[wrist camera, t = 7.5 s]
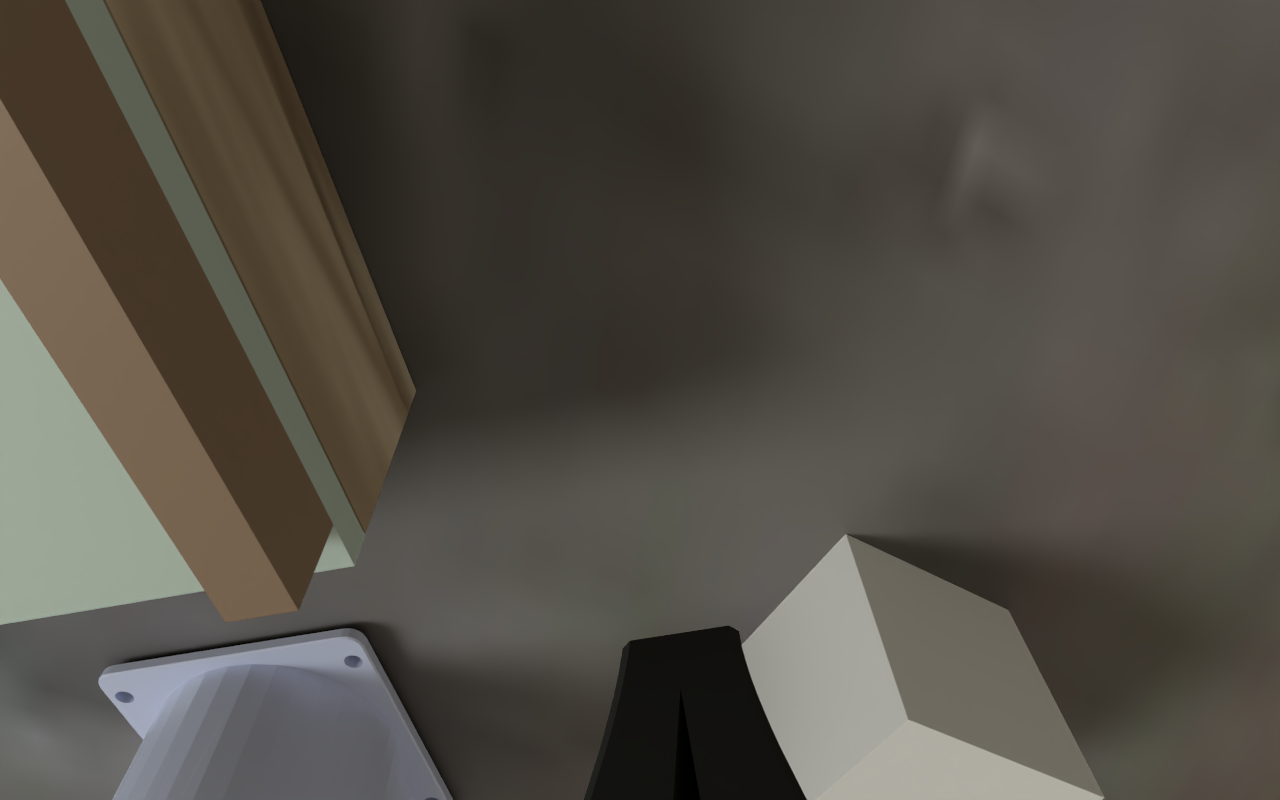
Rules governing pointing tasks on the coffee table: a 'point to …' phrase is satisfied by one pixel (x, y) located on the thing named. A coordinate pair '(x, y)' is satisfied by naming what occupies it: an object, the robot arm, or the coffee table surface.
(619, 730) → the robot arm
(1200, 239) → the coffee table surface
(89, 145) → the lid
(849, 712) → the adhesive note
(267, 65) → the storage box
